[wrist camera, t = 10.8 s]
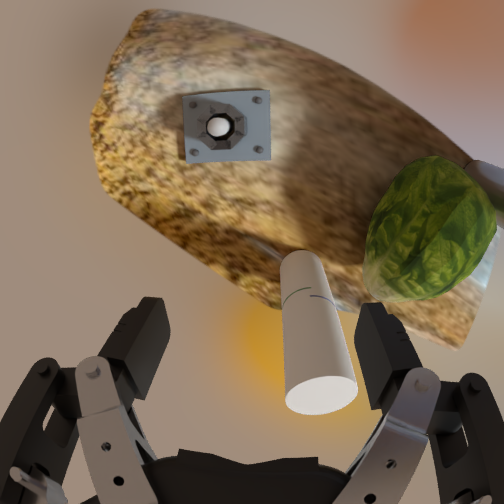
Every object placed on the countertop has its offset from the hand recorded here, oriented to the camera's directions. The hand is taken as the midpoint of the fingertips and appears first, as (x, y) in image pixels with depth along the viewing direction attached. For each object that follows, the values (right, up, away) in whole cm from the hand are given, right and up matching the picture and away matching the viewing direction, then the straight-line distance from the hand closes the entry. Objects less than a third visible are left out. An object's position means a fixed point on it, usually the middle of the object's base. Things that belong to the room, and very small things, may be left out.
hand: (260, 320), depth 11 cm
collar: (-4, +19, +23) cm, 31 cm away
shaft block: (-4, +20, +25) cm, 33 cm away
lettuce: (+24, +8, +30) cm, 39 cm away
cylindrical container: (+8, 0, +35) cm, 36 cm away
